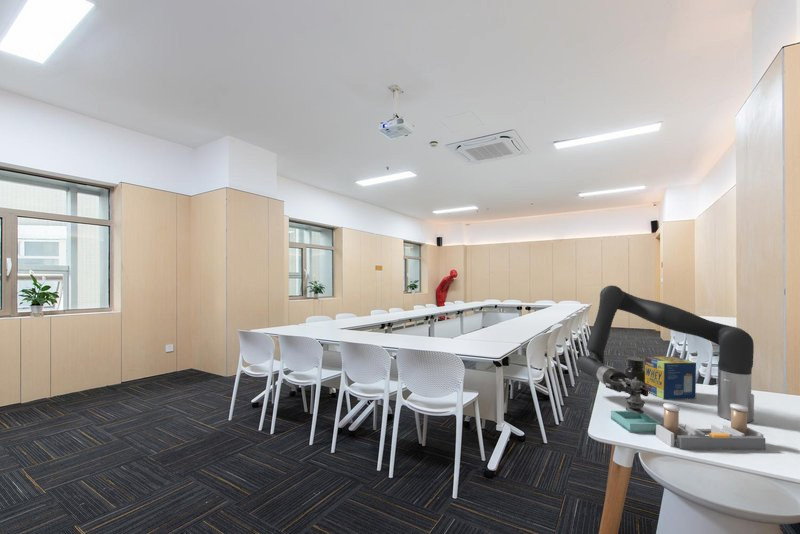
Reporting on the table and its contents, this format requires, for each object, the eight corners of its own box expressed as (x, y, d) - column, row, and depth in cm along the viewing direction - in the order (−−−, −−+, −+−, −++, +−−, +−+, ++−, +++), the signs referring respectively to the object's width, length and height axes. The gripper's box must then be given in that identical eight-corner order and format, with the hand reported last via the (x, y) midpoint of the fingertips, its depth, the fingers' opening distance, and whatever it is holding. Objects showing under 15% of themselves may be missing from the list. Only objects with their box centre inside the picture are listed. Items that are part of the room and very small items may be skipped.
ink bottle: (640, 381, 178) (641, 357, 178) (651, 387, 169) (651, 361, 169) (619, 381, 179) (620, 356, 179) (629, 386, 170) (629, 361, 170)
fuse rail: (732, 432, 124) (732, 419, 124) (768, 449, 112) (768, 435, 112) (647, 431, 124) (647, 418, 124) (674, 449, 112) (674, 435, 112)
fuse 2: (739, 437, 120) (739, 403, 120) (751, 443, 116) (751, 408, 116) (726, 437, 120) (726, 403, 120) (738, 443, 116) (738, 408, 116)
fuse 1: (672, 436, 120) (672, 403, 120) (682, 443, 116) (682, 408, 116) (659, 436, 120) (660, 403, 120) (669, 442, 116) (669, 408, 116)
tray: (640, 419, 134) (640, 410, 134) (662, 432, 123) (662, 423, 123) (610, 418, 134) (610, 410, 134) (629, 432, 123) (630, 423, 123)
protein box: (644, 391, 164) (644, 356, 164) (675, 390, 166) (675, 356, 166) (663, 399, 154) (663, 362, 154) (696, 398, 156) (697, 362, 156)
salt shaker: (645, 415, 124) (646, 380, 124) (624, 411, 127) (625, 377, 127) (644, 409, 129) (645, 375, 129) (625, 405, 132) (626, 372, 132)
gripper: (593, 367, 142) (620, 382, 125) (630, 368, 143) (661, 383, 125) (593, 386, 143) (620, 404, 125) (629, 387, 143) (661, 404, 125)
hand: (640, 393), depth 125 cm, fingers closed on salt shaker, 3 cm apart
